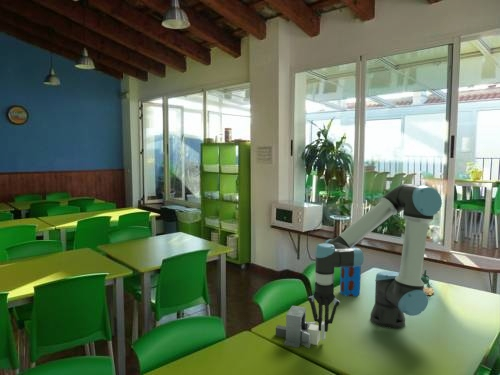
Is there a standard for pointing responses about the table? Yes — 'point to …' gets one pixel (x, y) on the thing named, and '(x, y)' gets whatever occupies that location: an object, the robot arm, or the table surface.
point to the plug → (311, 330)
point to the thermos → (350, 280)
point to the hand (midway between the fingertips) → (323, 338)
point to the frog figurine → (427, 289)
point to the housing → (297, 327)
